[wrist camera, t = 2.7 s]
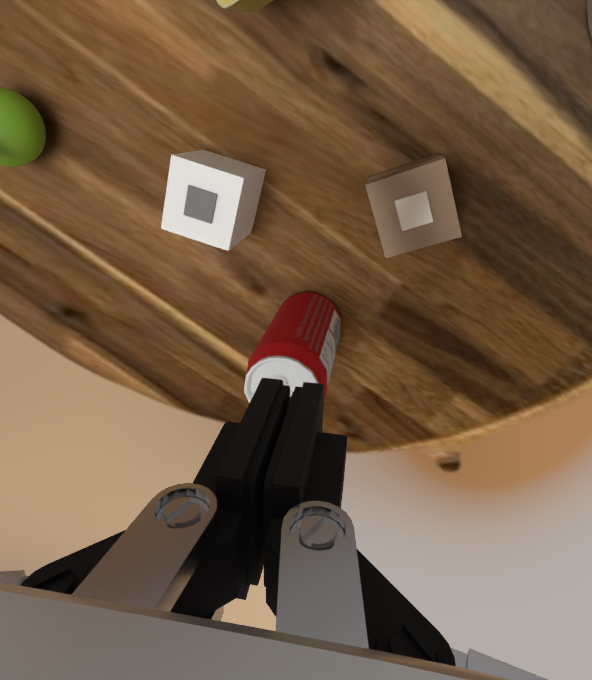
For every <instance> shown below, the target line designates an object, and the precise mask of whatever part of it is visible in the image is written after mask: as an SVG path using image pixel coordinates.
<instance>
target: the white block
mask: <svg viewBox="0 0 592 680" xmlns="http://www.w3.org/2000/svg"><path fill="white" fill-rule="evenodd" d="M265 172H266V169H263V168H259V167H256V166H253V165H250V164H247V163H244V162H241V161H238V160H235V159H231V158H228V157H225V156H222V155H219V154H216V153H213V152H210V151H207V150H199V151H193V152H186V153H180V154H173V155H171V161H170V168H169V175H168V183H167V190H166V197H165V204H164V211H163V218H162V225H161V229H164V230H167V231H170V232H173V233H176V234H179V235H182V236H185V237H188V238H191V239H194V240H197V241H200V242H203V243H206V244H209V245H212V246H215V247H218V248H221V249H224V250H227V251H229V250H230V249H232V248H233V247H234V246H235V245H237V244H238V243H239V242H240V241H242V240H243V239H244V238H245V237H247V236H248V235H249V234H250V233H251V232H252V228H253V224H254V220H255V215H256V211H257V207H258V202H259V198H260V194H261V190H262V185H263V181H264V177H265Z"/></svg>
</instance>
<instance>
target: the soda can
mask: <svg viewBox="0 0 592 680" xmlns="http://www.w3.org/2000/svg"><path fill="white" fill-rule="evenodd" d="M340 333H341V316H340V314H339V312H338V310H337V309H336V307H335V305H334V304H333V303H332V302H330V301H329V300H328V299H326V298H325V297H324V296H321V295H319V294H316V293H310V292H304V293H298V294H295V295H293V296H291V297H290V298H288V299H287V300H286V301H285V302H284V303H283V304H282V306H281V307H280V309H279V311H278V312H277V314H276V316H275V317H274V319H273V321H272V322H271V324H270V326H269V327H268V329H267V331H266V332H265V334H264V336H263V337H262V339H261V341H260V342H259V344H258V346H257V347H256V349H255V351H254V352H253V354H252V356H251V357H250V359H249V362H248V368H247V374H246V381H245V387H244V392H245V394H246V397H247V399H248V401H249V403H250V402H251V399H252V397H253V395H254V393H255V391H256V389H257V387H258V385H259V383H260V381H261V379H262V378H271V379H281V380H283V385H287V386H290V401H291V398H292V395H293V392H294V389H295V387H296V386H297V387H302V386H303V383H304V382H310V383H319V384H324V395H325V393H326V390H327V387H328V383H329V378H330V374H331V370H332V366H333V362H334V358H335V354H336V349H337V345H338V341H339V337H340Z"/></svg>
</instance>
